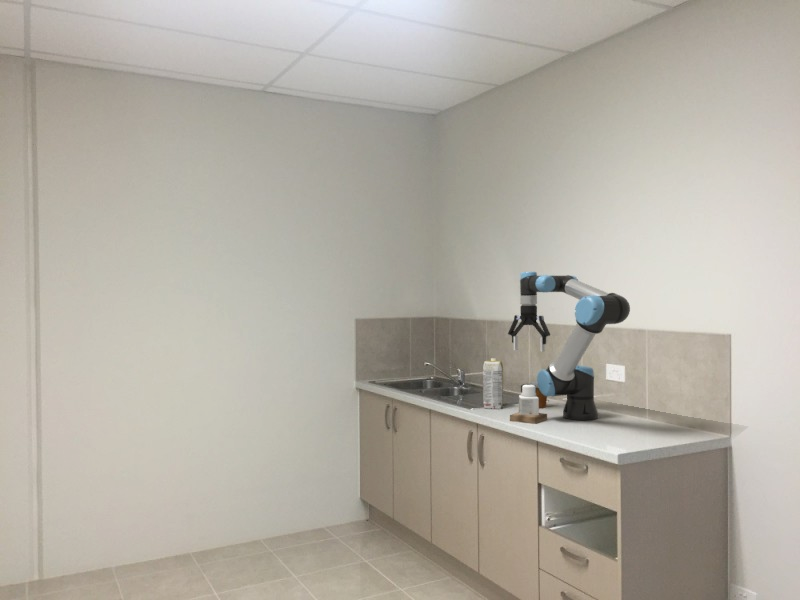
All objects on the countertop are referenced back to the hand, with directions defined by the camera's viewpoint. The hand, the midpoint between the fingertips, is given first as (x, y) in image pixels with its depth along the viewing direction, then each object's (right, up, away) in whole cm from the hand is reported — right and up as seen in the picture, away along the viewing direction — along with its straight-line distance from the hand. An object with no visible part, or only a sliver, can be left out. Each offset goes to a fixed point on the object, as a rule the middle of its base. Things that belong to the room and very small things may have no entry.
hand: (528, 350), depth 324 cm
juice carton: (-15, -29, +14) cm, 35 cm away
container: (-3, -27, -18) cm, 32 cm away
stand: (-3, -29, -18) cm, 34 cm away
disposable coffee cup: (+8, -29, +16) cm, 34 cm away
